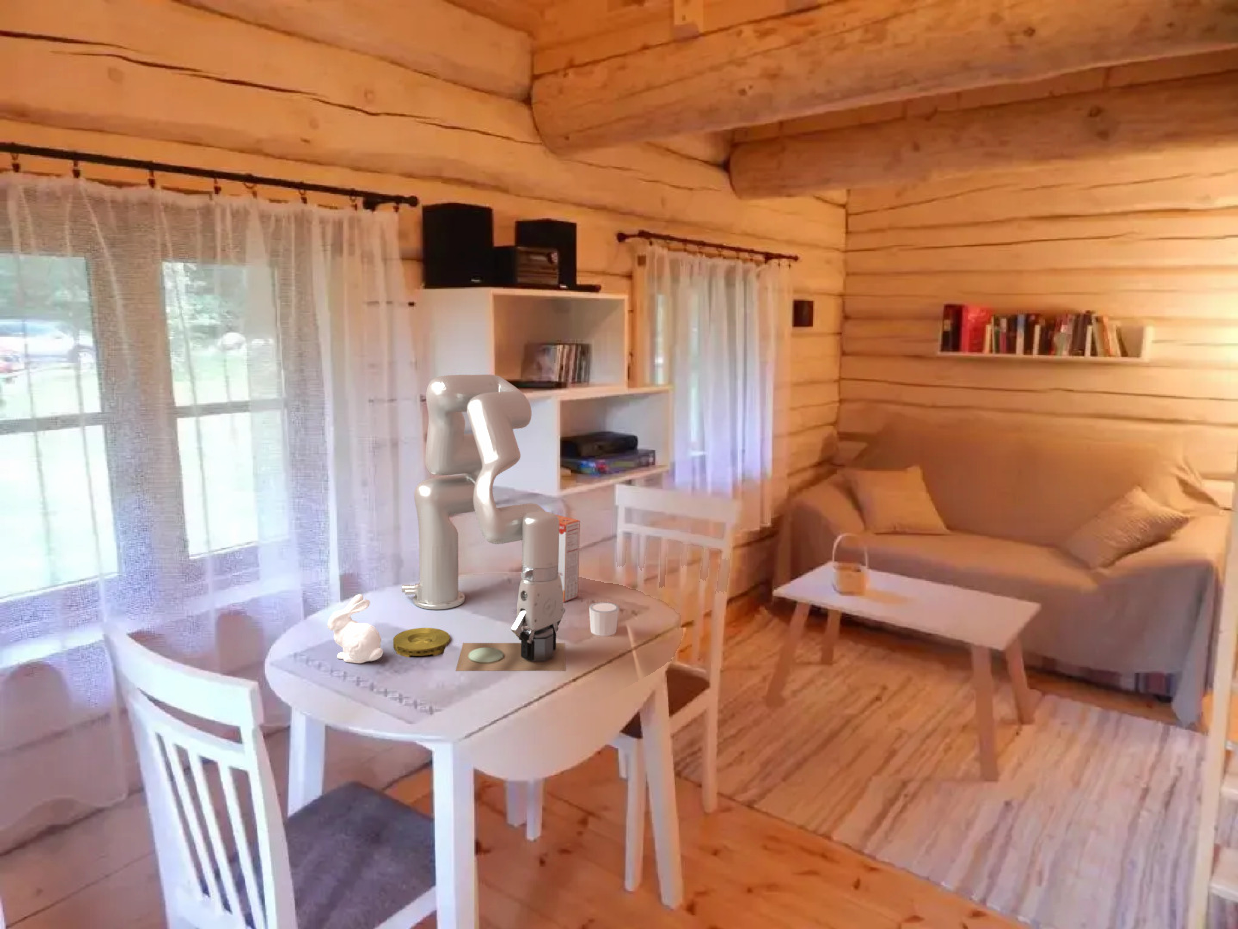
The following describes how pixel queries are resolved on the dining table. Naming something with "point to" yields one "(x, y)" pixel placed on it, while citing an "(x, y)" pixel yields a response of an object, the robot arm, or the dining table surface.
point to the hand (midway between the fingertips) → (538, 652)
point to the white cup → (603, 618)
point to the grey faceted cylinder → (543, 644)
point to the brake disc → (421, 642)
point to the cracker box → (569, 556)
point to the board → (505, 658)
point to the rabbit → (355, 634)
